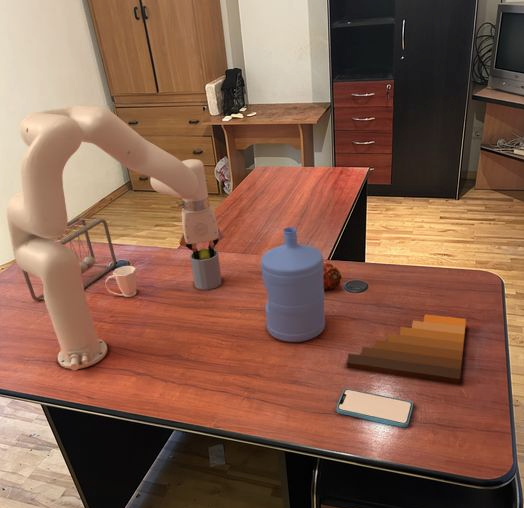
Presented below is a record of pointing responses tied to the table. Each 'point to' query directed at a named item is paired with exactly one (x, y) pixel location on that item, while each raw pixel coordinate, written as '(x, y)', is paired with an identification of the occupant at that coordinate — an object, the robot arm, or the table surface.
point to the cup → (125, 280)
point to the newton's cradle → (88, 260)
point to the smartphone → (375, 407)
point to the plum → (204, 254)
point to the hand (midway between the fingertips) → (204, 260)
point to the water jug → (294, 290)
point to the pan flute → (418, 351)
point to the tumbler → (206, 272)
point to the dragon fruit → (331, 276)
